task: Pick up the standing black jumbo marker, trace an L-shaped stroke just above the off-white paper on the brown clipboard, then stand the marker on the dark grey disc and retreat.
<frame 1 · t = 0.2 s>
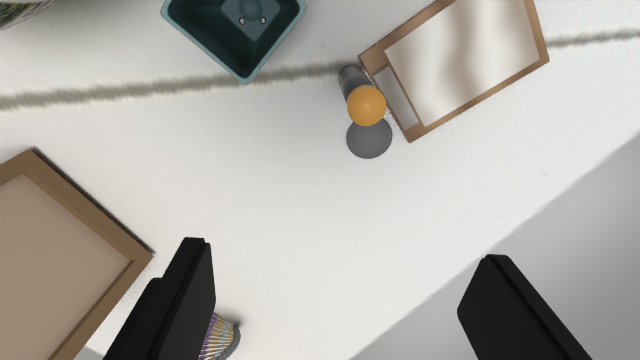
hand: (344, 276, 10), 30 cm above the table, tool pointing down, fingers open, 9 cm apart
dna model: (221, 315, 58), on the table
flower pot: (252, 8, 32), on the table
marker: (350, 76, 36), on the table
dark grey disc: (369, 137, 40), on the table
photo frame: (69, 223, 46), on the table
clipboard: (452, 57, 35), on the table
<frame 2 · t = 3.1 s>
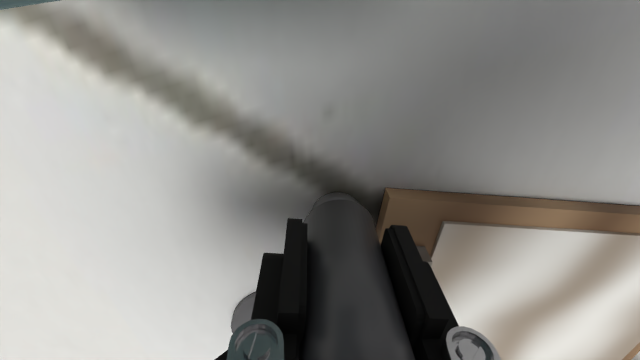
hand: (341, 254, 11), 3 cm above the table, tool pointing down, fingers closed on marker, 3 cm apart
marker: (336, 212, 14), on the table, touching gripper
dark grey disc: (285, 322, 17), on the table
clipboard: (517, 297, 17), on the table
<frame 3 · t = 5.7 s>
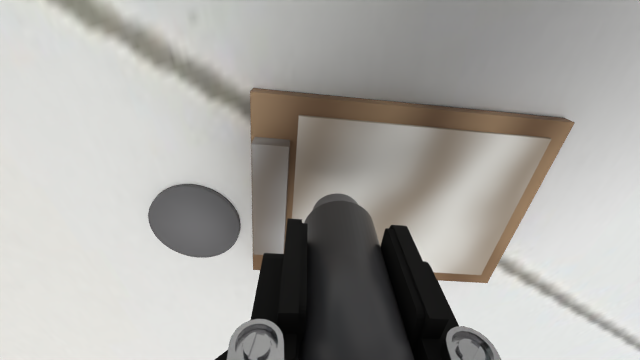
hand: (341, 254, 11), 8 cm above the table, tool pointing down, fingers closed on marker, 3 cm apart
marker: (336, 213, 14), point 6 cm above the table, touching gripper
dark grey disc: (196, 221, 21), on the table
clipboard: (389, 199, 20), on the table
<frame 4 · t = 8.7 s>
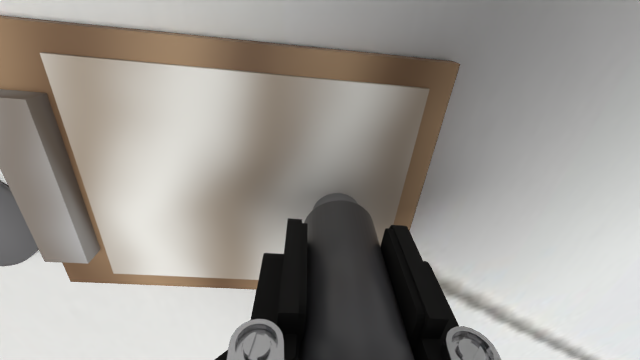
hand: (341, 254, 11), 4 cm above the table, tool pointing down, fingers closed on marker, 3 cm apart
marker: (336, 213, 14), point 2 cm above the table, touching gripper
clipboard: (234, 183, 15), on the table
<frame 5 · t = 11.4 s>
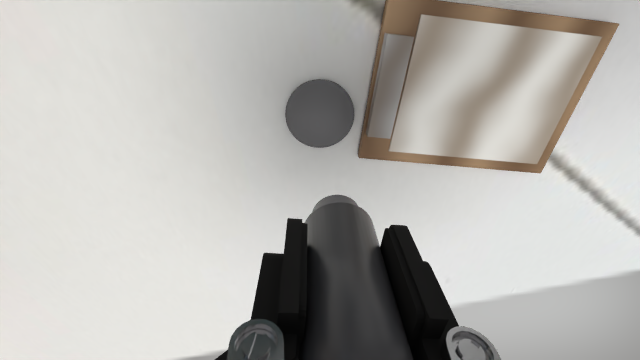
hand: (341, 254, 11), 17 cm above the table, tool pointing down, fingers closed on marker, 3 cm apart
marker: (336, 215, 14), point 15 cm above the table, touching gripper
dark grey disc: (319, 114, 27), on the table
clipboard: (471, 95, 26), on the table
when the fingers open (4 cm above the table, at t = 14.2 s): marker stays where it is, resting on dark grey disc.
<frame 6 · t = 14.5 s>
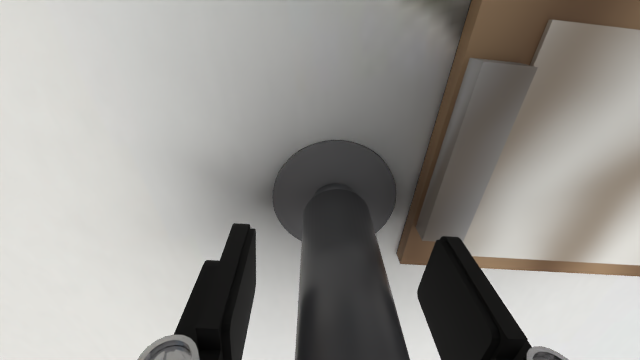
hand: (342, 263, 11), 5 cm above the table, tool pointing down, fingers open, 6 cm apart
marker: (334, 202, 15), resting on dark grey disc
dark grey disc: (334, 196, 15), on the table
clipboard: (608, 162, 14), on the table
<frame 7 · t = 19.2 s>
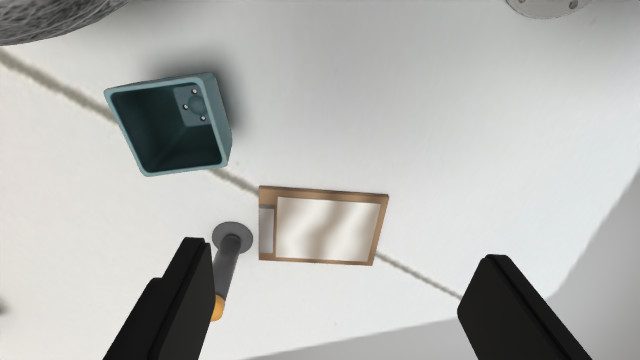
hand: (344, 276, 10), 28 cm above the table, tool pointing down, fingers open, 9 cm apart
flower pot: (200, 104, 36), on the table
marker: (232, 240, 45), resting on dark grey disc
dark grey disc: (232, 237, 45), on the table
clipboard: (320, 227, 45), on the table
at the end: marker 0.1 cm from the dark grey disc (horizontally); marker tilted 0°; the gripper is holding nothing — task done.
